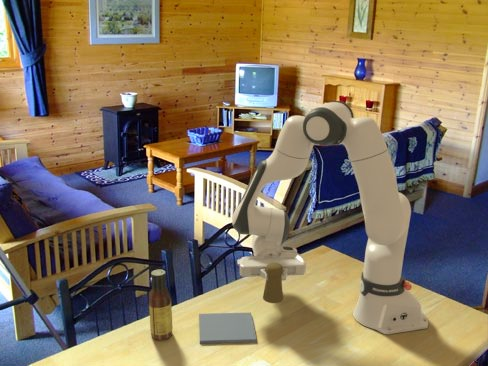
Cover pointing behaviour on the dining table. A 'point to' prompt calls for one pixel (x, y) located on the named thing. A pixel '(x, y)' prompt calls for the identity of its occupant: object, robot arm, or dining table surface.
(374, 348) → the dining table surface
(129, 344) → the dining table surface
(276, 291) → the cork
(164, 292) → the sauce bottle
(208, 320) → the tile
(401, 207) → the robot arm
